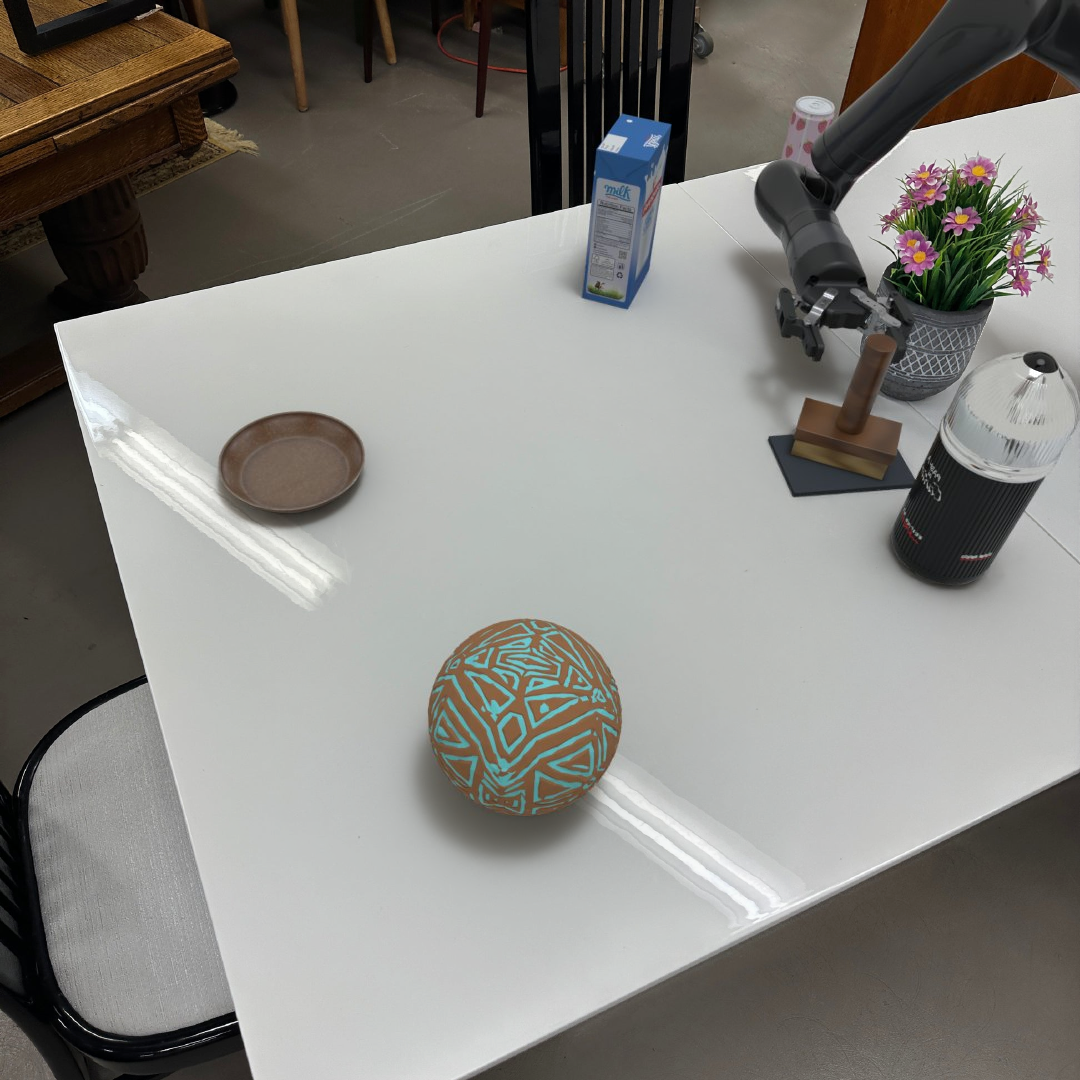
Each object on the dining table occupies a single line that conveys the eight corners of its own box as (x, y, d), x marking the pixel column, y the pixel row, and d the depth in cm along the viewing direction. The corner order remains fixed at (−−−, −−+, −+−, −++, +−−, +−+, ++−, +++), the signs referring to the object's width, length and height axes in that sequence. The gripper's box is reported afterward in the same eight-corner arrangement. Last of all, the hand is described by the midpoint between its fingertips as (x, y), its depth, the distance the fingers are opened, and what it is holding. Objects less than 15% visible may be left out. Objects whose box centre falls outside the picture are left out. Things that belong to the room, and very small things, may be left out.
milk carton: (627, 309, 124) (648, 161, 109) (582, 298, 125) (596, 149, 110) (649, 269, 130) (671, 123, 115) (605, 259, 131) (622, 113, 116)
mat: (884, 431, 110) (886, 427, 110) (916, 487, 104) (917, 483, 104) (767, 439, 108) (768, 435, 108) (793, 497, 103) (794, 493, 102)
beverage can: (809, 198, 145) (837, 98, 133) (807, 217, 141) (836, 116, 130) (771, 192, 145) (795, 92, 134) (768, 211, 142) (793, 110, 130)
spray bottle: (910, 596, 94) (1017, 399, 76) (870, 519, 101) (959, 321, 82) (1006, 586, 96) (1135, 391, 77) (961, 511, 102) (1069, 315, 84)
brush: (890, 450, 107) (938, 340, 96) (884, 482, 104) (933, 372, 93) (797, 424, 110) (833, 313, 98) (787, 455, 106) (823, 344, 95)
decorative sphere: (407, 824, 76) (395, 726, 65) (460, 670, 86) (457, 562, 75) (592, 869, 75) (613, 776, 63) (625, 707, 84) (647, 602, 73)
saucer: (354, 419, 107) (352, 400, 105) (378, 513, 98) (376, 494, 96) (217, 440, 104) (212, 421, 102) (229, 540, 95) (224, 521, 93)
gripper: (771, 238, 109) (801, 325, 98) (895, 242, 109) (938, 328, 99) (757, 295, 114) (784, 383, 104) (874, 297, 115) (913, 385, 104)
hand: (859, 356), depth 101 cm, fingers open, 8 cm apart
